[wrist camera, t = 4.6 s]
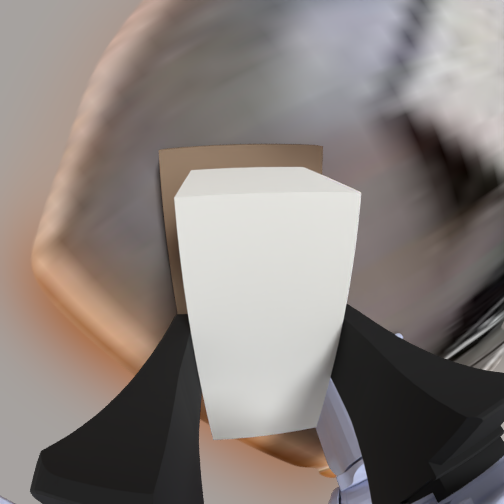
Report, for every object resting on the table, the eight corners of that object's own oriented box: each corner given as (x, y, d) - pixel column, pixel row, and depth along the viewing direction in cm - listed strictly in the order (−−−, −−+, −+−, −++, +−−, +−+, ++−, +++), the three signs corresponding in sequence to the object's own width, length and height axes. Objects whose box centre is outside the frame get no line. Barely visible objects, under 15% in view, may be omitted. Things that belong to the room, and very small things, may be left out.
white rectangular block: (291, 355, 15) (316, 427, 11) (210, 362, 15) (213, 439, 10) (303, 167, 11) (361, 192, 7) (191, 170, 11) (174, 197, 6)
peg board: (302, 328, 19) (318, 365, 16) (185, 337, 18) (182, 377, 15) (314, 145, 15) (343, 149, 11) (162, 149, 14) (147, 154, 10)
